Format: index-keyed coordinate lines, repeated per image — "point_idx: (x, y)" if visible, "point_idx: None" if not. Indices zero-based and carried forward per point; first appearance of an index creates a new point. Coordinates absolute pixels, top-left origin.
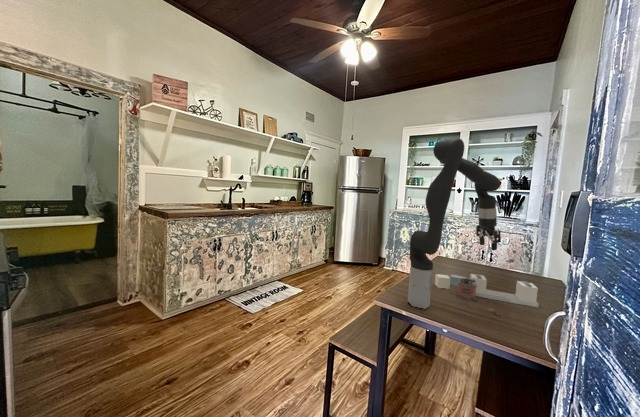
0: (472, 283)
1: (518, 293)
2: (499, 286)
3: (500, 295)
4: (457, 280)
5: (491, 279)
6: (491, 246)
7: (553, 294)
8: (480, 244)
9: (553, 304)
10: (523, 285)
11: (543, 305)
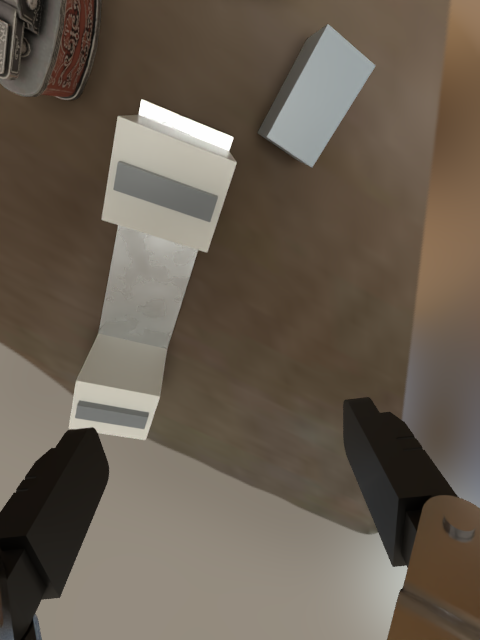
0: (47, 73)
1: (125, 352)
2: (303, 348)
3: (128, 273)
4: (289, 85)
5: (388, 358)
6: (65, 466)
7: (245, 473)
8: (352, 402)
9: (150, 431)
10: (85, 389)
11: None
